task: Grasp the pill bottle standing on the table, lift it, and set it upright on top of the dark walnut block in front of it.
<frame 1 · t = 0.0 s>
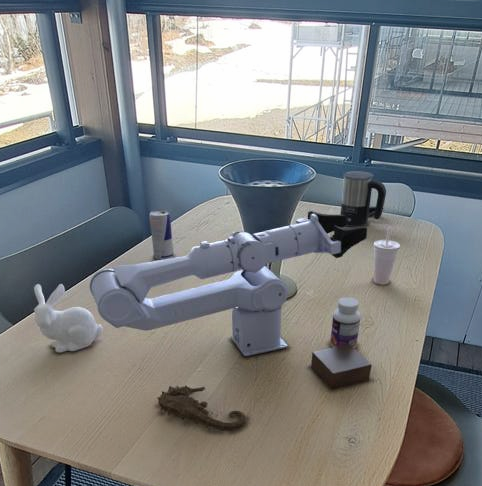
hand: (355, 226, 101), 22 cm above the table, tool horizontal, fingers open, 7 cm apart
seahorse: (199, 411, 90), on the table
pill bottle: (342, 345, 108), on the table
milk frother: (360, 220, 173), on the table
walnut block: (339, 373, 99), on the table
energy drink: (164, 257, 146), on the table
rabbit: (68, 345, 107), on the table
smoothie: (380, 282, 134), on the table
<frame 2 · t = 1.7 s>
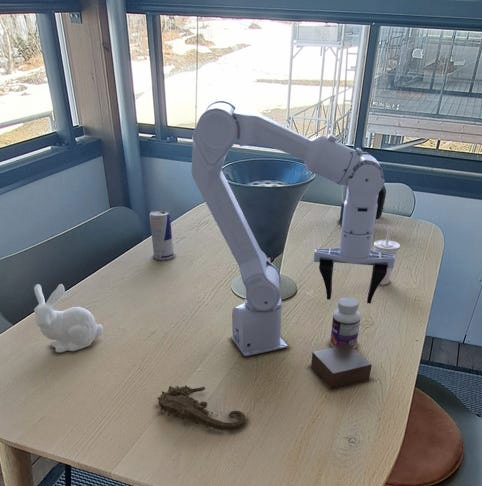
hand: (348, 299, 102), 10 cm above the table, tool pointing down, fingers open, 7 cm apart
nothing on the table moved.
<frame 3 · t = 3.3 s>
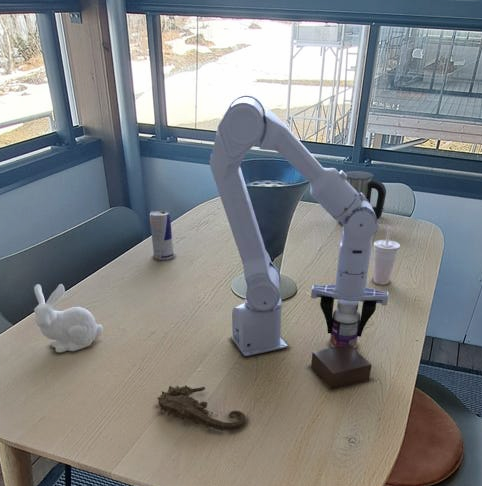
hand: (344, 332, 106), 3 cm above the table, tool pointing down, fingers closed on pill bottle, 5 cm apart
pill bottle: (342, 345, 108), on the table, touching gripper
everything else where it was.
when the fingers open (6 cm above the table, at t = 7.3 s): pill bottle stays where it is, resting on walnut block.
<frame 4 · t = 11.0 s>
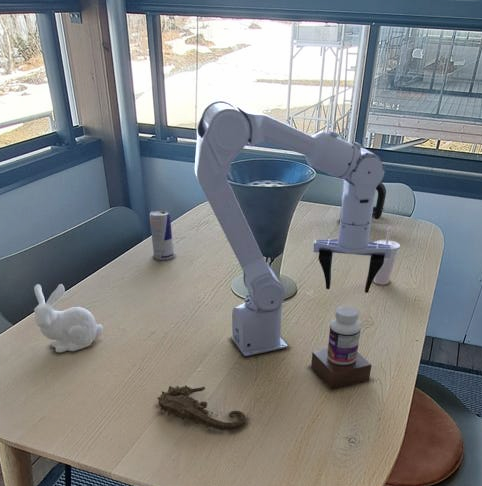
hand: (347, 288, 105), 10 cm above the table, tool pointing down, fingers open, 7 cm apart
pill bottle: (341, 358, 97), point 3 cm above the table, touching walnut block
walnut block: (339, 373, 99), on the table, touching pill bottle
everything else where it was.
at the end: pill bottle 0.0 cm off-centre on the walnut block, point 3.3 cm above the walnut block's base; pill bottle tilted 0°; the gripper is holding nothing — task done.
